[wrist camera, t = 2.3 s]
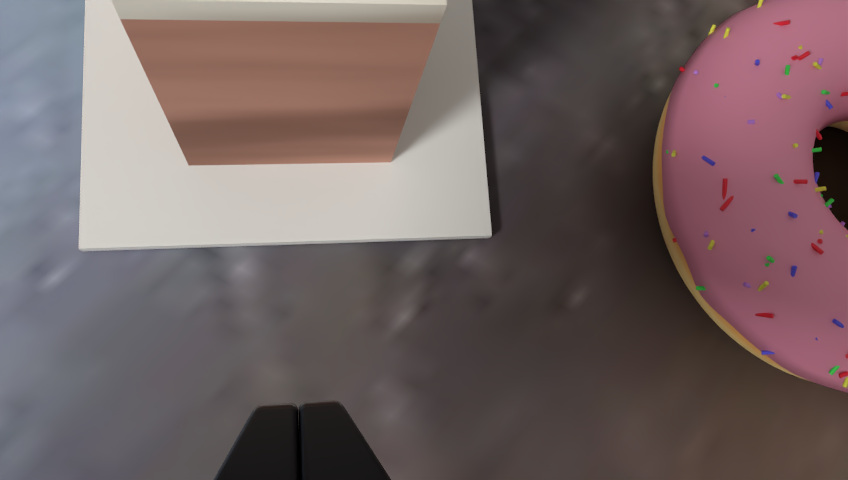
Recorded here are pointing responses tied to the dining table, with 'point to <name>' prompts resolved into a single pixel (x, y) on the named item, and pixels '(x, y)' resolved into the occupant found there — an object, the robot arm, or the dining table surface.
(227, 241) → the white paper sheet
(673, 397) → the dining table surface
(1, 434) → the dining table surface
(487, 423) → the dining table surface
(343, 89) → the brick block
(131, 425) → the dining table surface
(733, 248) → the doughnut
